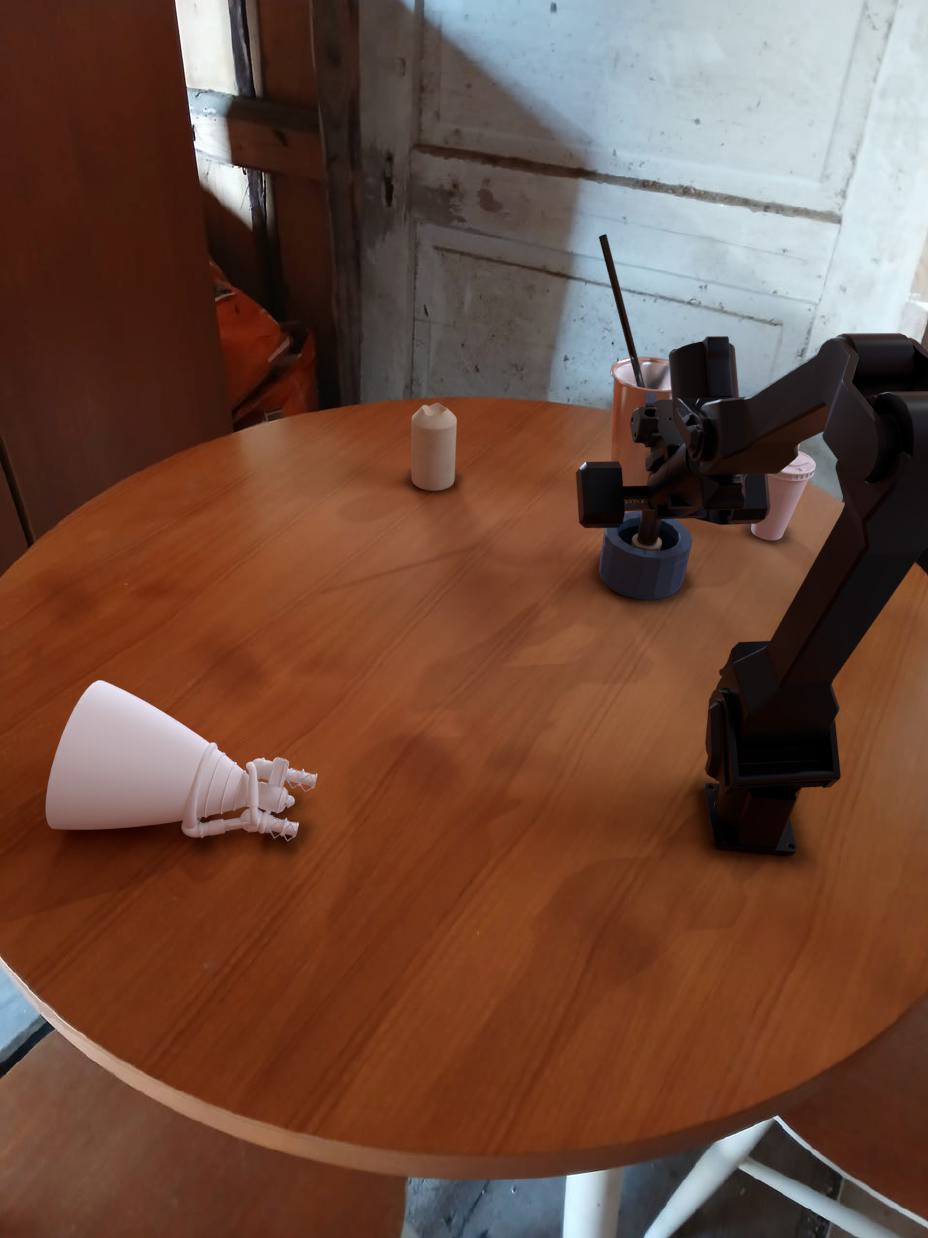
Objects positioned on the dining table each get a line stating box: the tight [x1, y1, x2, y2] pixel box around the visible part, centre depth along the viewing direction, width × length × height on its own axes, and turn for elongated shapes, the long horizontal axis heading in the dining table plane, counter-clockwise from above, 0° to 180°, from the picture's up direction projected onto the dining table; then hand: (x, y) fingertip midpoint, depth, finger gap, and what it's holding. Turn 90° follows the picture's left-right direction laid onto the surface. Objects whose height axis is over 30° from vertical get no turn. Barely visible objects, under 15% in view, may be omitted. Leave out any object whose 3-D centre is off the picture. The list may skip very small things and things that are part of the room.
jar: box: [598, 511, 693, 601], centre depth 99 cm, size 9×9×6 cm
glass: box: [598, 233, 672, 486], centre depth 107 cm, size 11×11×30 cm
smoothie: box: [750, 443, 817, 541], centre depth 104 cm, size 6×6×14 cm
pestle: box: [631, 471, 662, 551], centre depth 96 cm, size 3×3×12 cm
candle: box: [411, 402, 458, 492], centre depth 112 cm, size 6×6×10 cm
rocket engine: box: [45, 679, 318, 842], centre depth 70 cm, size 12×12×18 cm
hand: (647, 512), depth 97 cm, fingers open, 9 cm apart
